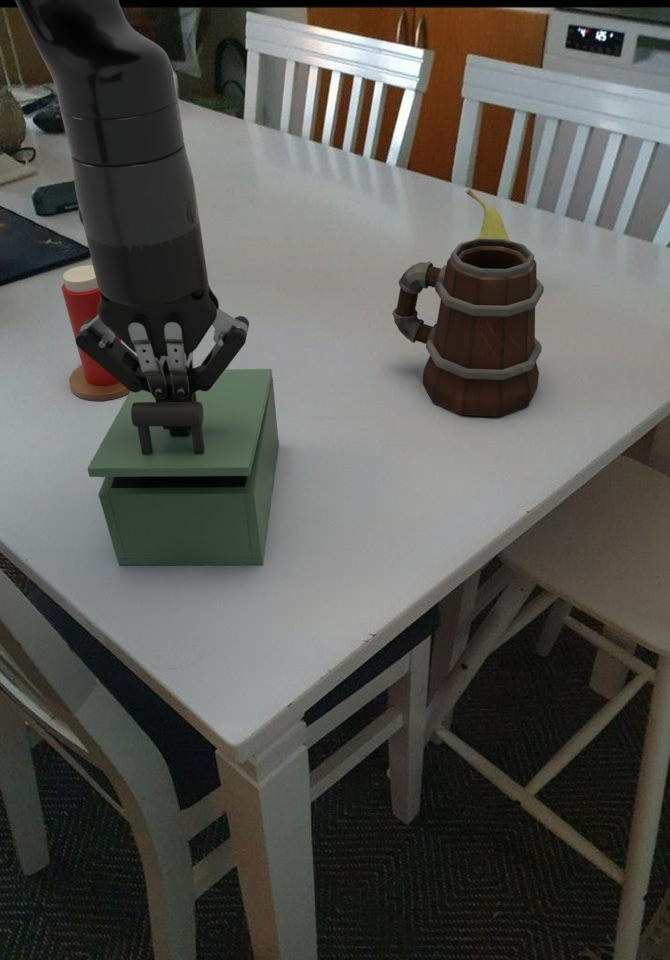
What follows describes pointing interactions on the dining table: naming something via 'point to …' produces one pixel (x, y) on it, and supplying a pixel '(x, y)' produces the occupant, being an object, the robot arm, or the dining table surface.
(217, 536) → the chest
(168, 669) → the dining table surface
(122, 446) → the chest lid
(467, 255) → the mug
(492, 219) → the fruit
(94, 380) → the sauce bottle
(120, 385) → the disc
